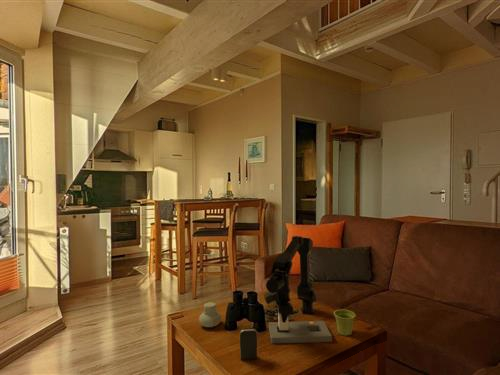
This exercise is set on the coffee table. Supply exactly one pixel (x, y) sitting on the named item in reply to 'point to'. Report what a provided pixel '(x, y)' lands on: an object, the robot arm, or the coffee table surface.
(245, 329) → the battery charger
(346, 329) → the plant pot
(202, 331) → the coffee table surface
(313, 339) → the panel board
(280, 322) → the plug
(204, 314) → the air freshener
